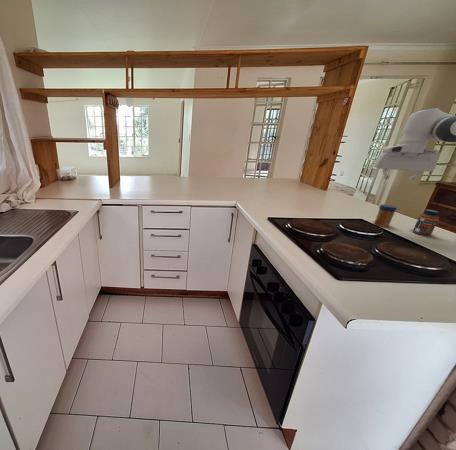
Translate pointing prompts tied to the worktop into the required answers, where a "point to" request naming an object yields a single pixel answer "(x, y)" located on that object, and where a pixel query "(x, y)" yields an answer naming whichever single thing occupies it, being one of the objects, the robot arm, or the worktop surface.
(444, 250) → the worktop surface
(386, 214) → the jam jar
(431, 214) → the supplement bottle
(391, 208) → the jar lid
